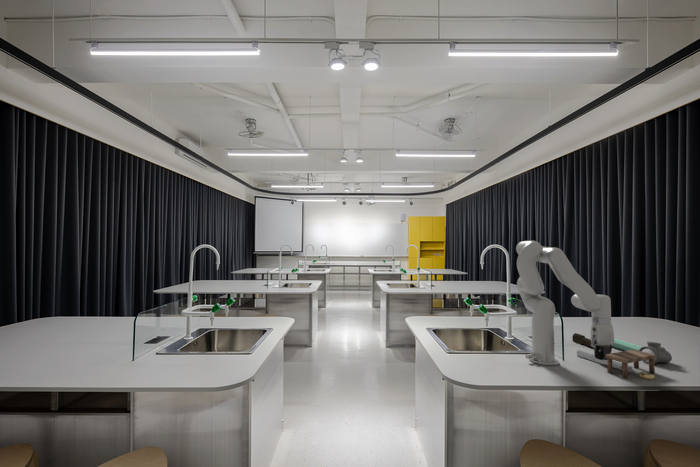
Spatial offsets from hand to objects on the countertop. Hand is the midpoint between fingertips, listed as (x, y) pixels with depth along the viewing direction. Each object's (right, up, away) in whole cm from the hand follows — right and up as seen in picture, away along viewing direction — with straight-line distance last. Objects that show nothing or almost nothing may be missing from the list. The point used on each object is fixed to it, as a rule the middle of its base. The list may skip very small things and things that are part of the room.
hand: (602, 358), depth 157 cm
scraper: (0, -2, 0) cm, 2 cm away
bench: (+4, -2, -11) cm, 12 cm away
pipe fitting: (+27, -3, +1) cm, 28 cm away
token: (+6, -2, -17) cm, 18 cm away
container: (+28, -4, +18) cm, 33 cm away
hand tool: (+13, -4, +26) cm, 29 cm away
